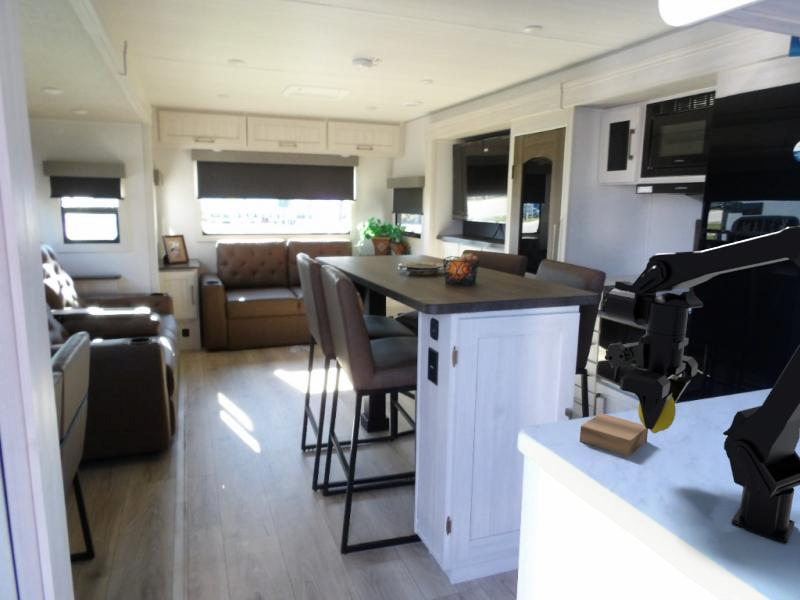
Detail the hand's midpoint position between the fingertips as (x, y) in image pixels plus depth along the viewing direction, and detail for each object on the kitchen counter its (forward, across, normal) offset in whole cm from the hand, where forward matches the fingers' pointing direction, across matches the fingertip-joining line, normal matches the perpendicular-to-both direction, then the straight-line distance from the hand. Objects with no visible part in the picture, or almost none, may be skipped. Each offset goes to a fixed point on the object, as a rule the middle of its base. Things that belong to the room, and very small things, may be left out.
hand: (655, 423), depth 91 cm
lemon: (+2, 0, 0) cm, 2 cm away
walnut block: (+8, -6, -9) cm, 14 cm away
